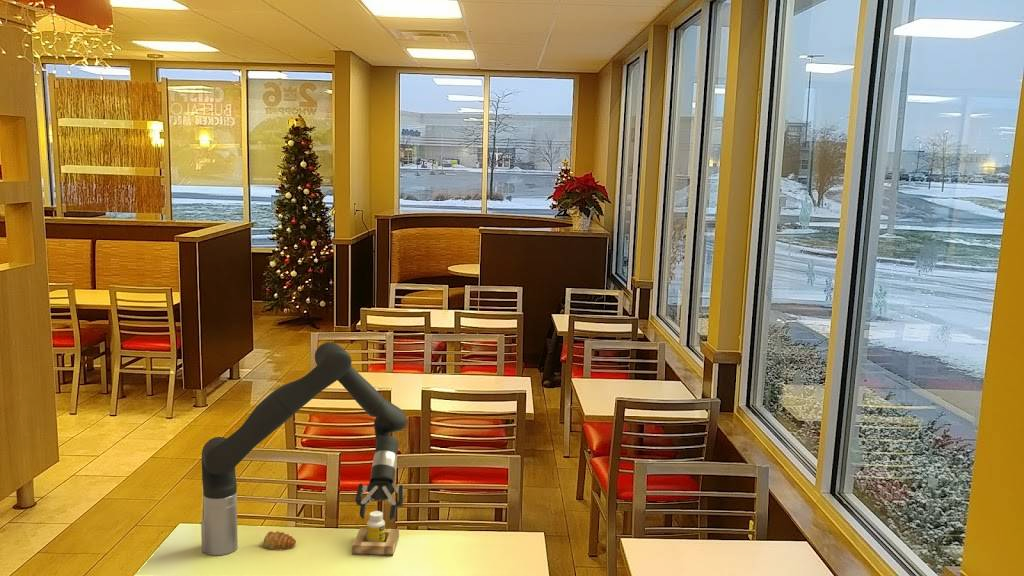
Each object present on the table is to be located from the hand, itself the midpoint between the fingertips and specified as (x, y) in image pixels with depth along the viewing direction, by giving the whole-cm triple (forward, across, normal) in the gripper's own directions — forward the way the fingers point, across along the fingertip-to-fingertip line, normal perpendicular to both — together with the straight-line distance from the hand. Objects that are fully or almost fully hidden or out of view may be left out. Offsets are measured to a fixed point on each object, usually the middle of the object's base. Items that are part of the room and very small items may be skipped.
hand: (376, 518), depth 241 cm
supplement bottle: (+6, 0, +5) cm, 8 cm away
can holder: (+7, 0, +5) cm, 9 cm away
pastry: (+8, -29, +5) cm, 30 cm away
